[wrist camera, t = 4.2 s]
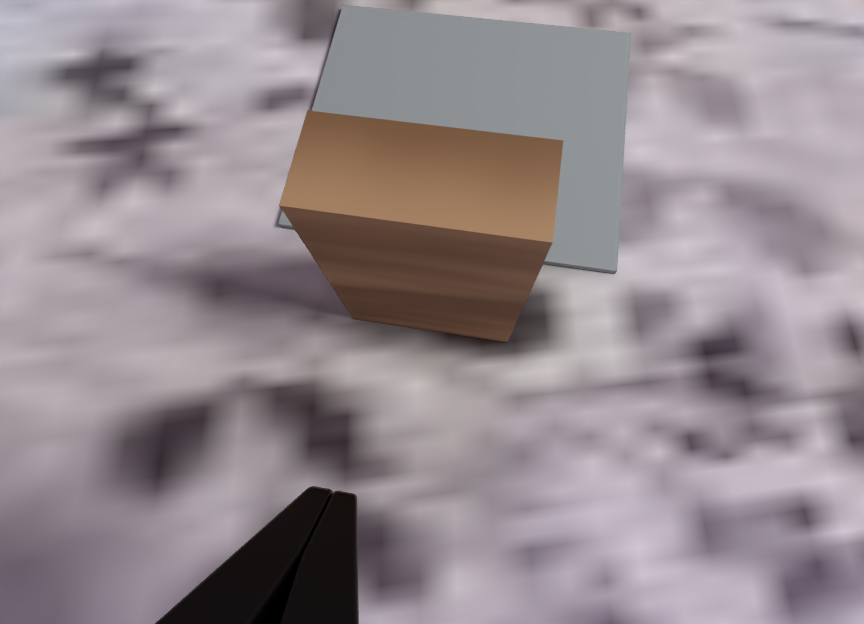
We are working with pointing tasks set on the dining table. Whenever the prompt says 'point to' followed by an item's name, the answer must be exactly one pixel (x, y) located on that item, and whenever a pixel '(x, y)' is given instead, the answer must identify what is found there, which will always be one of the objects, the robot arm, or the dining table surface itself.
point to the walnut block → (425, 219)
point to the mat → (499, 101)
